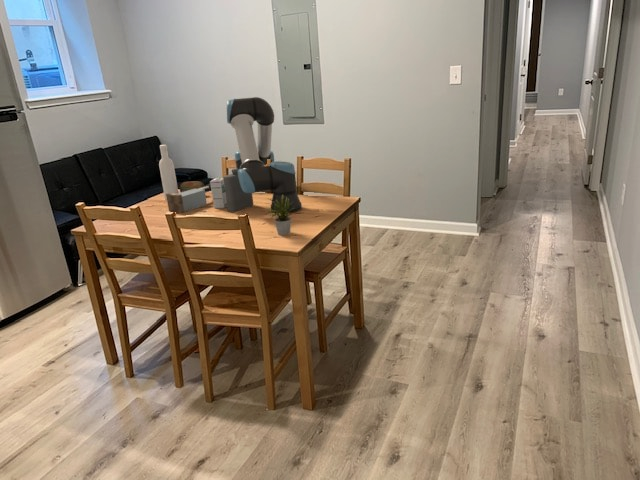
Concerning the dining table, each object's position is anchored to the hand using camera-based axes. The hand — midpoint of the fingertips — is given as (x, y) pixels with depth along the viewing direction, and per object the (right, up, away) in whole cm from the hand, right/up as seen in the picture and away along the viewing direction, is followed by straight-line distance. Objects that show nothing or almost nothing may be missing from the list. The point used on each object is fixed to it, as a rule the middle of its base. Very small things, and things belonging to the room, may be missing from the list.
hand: (199, 191), depth 267 cm
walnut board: (-9, -11, -10) cm, 18 cm away
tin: (-8, -1, +20) cm, 21 cm away
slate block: (-3, -9, -4) cm, 10 cm away
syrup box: (+13, -9, -7) cm, 18 cm away
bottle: (-20, -2, +18) cm, 27 cm away
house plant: (+48, -23, -55) cm, 77 cm away
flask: (+24, -10, -13) cm, 29 cm away
